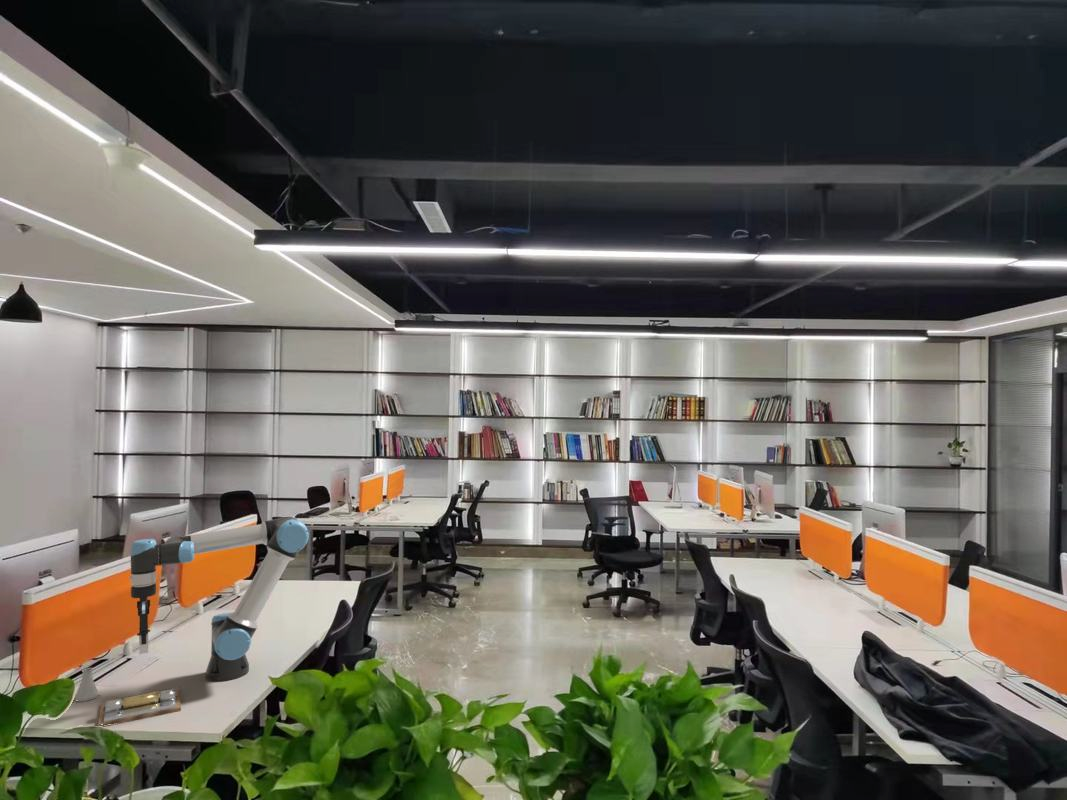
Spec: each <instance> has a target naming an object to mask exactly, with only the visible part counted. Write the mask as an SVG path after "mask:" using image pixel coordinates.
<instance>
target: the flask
mask: <svg viewBox="0 0 1067 800" xmlns="http://www.w3.org/2000/svg"><path fill="white" fill-rule="evenodd" d="M93 671H94V668H93V667H88V668H84V669H82V670H81V672H82V677H81V681H80V683H79V686H78V689H77V691H76V694H75V695H74V697H73V700H74V701H75V700H78V702H81V703H82V702H83V703H84V702H87V701H91V700H94V699H96V698H98V697H100V693H99V690H98V688H97V686H96V683H95V681H94V677H93Z"/></svg>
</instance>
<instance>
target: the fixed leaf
mask: <svg viewBox="0 0 1067 800" xmlns="http://www.w3.org/2000/svg"><path fill="white" fill-rule="evenodd" d="M170 689H171V688H170ZM165 690H166V689H165ZM175 697H177V693H175V689H171V690H166V691H161V692H160V703H157V704H152V705H147V706H142V707H137V708H131V709H126V710H122V699H119V700H113V699H112V700H113V701H108V700H107V701H108V702H105V706H104V707H103V711H105V716H104V722H108V721H113V720H118V719H123V718H128V717H133V716H138V715H142V714H147V713H152V712H157V711H162V710H167V709H172V708H176V702H175Z"/></svg>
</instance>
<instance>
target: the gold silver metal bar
mask: <svg viewBox="0 0 1067 800" xmlns="http://www.w3.org/2000/svg"><path fill="white" fill-rule="evenodd" d="M153 692H154V693H150V692H148V693H149V694H145V693H142V694H143V695H139V694H137V695H138V696H134V695H132V696H133V697H129V696H127V697H128V698H124V700H123V701H122V708H123V710H126V709H131V708H137V707H142V706H147V705H152V704H157V703H158V701H160V694H158V692H155V691H153Z"/></svg>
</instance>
